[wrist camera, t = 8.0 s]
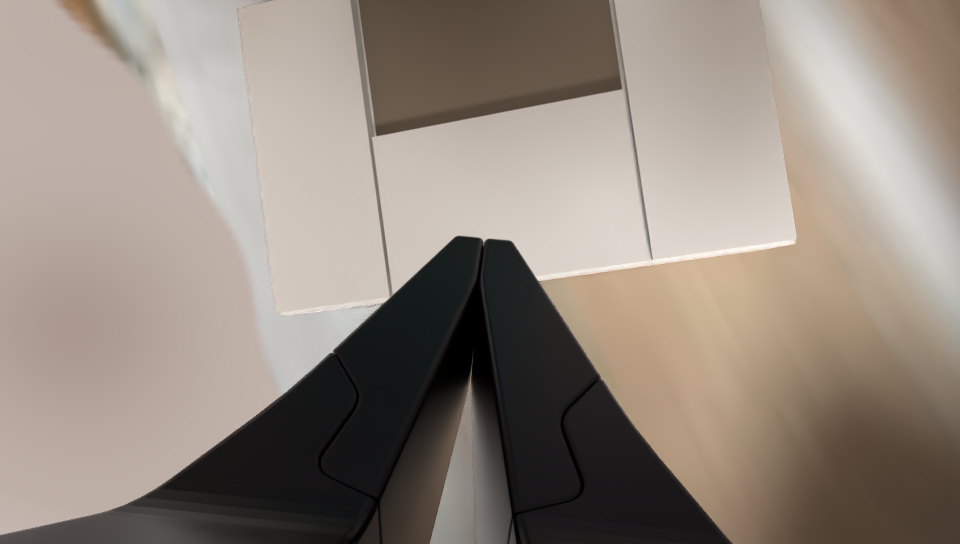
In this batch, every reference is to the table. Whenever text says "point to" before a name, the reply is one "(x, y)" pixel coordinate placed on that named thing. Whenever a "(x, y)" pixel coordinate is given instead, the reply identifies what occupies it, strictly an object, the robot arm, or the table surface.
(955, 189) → the table surface
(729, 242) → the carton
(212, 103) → the table surface
